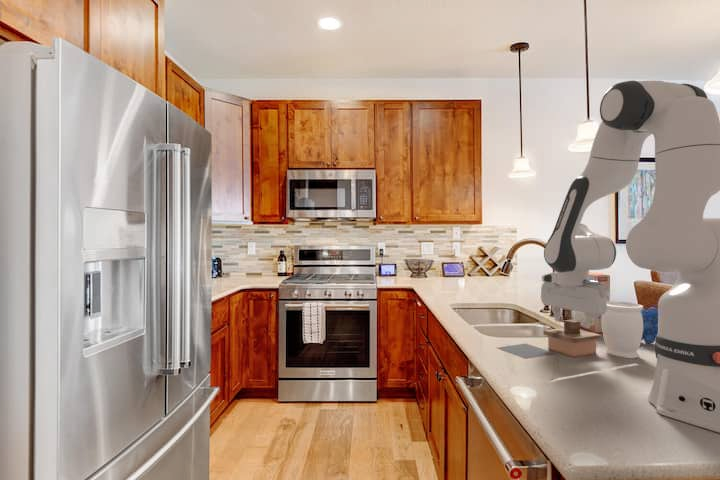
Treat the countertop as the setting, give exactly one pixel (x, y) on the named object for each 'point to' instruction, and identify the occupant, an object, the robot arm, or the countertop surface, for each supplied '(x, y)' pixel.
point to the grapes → (650, 324)
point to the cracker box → (605, 281)
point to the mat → (526, 351)
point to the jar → (622, 328)
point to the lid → (572, 333)
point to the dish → (572, 347)
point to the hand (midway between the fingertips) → (571, 324)
